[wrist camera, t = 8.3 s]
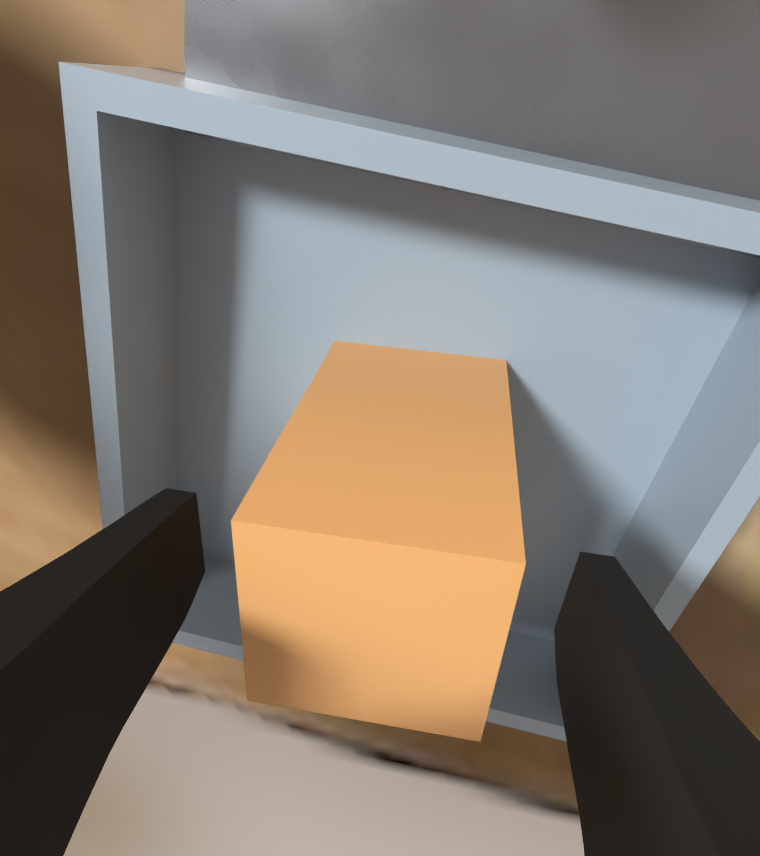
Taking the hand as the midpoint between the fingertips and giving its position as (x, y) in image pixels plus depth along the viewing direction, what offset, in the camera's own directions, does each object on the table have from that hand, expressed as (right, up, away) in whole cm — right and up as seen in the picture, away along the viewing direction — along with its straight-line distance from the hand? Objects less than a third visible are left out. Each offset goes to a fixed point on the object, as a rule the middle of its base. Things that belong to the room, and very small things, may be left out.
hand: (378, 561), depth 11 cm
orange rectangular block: (+1, +3, +4) cm, 5 cm away
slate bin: (+1, +3, +5) cm, 6 cm away
